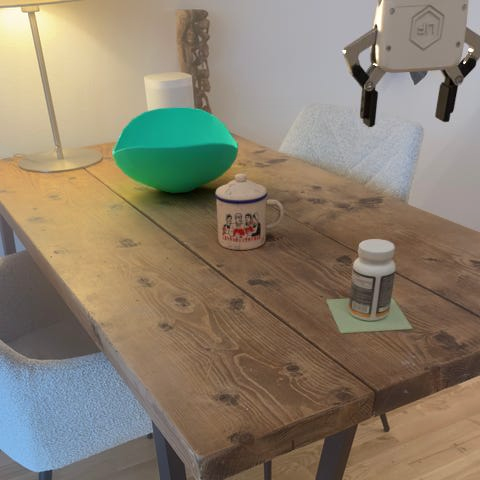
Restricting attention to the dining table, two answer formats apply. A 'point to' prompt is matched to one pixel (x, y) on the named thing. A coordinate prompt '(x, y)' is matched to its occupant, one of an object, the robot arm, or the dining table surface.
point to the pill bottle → (372, 280)
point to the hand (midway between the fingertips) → (405, 122)
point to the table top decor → (175, 149)
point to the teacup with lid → (243, 214)
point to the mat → (355, 325)
